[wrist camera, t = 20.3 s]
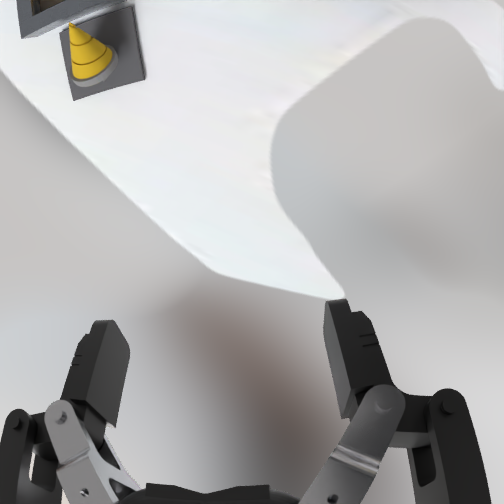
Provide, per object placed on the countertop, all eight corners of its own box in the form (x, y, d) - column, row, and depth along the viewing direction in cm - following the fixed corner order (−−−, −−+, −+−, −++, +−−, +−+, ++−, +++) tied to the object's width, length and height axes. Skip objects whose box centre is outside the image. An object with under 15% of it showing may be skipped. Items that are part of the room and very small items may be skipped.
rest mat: (132, 6, 25) (130, 6, 24) (144, 79, 30) (143, 80, 30) (61, 32, 25) (59, 32, 25) (75, 100, 30) (73, 101, 30)
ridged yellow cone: (77, 85, 29) (39, 30, 19) (115, 58, 30) (86, -1, 20) (92, 109, 29) (51, 51, 19) (133, 80, 29) (104, 16, 19)
